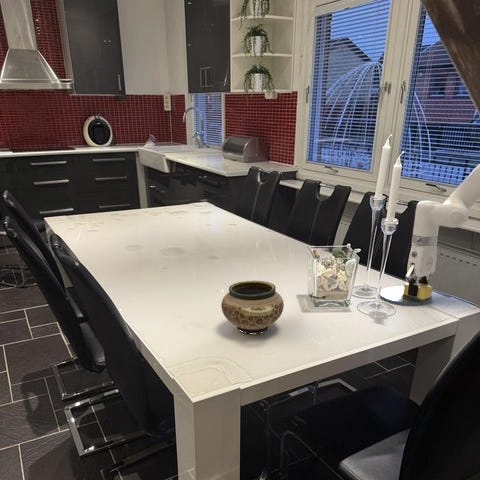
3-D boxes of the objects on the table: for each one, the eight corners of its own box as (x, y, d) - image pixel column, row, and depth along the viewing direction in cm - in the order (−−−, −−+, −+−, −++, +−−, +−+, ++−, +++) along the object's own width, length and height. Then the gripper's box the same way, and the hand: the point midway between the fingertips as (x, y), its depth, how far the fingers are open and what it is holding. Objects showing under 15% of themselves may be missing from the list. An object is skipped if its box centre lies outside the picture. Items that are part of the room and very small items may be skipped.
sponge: (430, 298, 156) (432, 286, 155) (422, 302, 154) (424, 289, 152) (411, 293, 162) (412, 281, 160) (402, 296, 159) (404, 284, 157)
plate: (441, 298, 160) (441, 295, 160) (413, 309, 150) (413, 306, 150) (398, 287, 172) (398, 284, 172) (369, 296, 163) (369, 293, 162)
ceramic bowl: (226, 322, 149) (213, 280, 143) (279, 306, 149) (268, 263, 144) (235, 356, 127) (220, 307, 121) (297, 338, 127) (285, 288, 121)
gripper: (420, 246, 143) (412, 302, 150) (449, 238, 153) (441, 291, 159) (398, 242, 148) (392, 296, 155) (428, 235, 158) (421, 286, 165)
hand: (417, 293), depth 157 cm, fingers closed on sponge, 5 cm apart
